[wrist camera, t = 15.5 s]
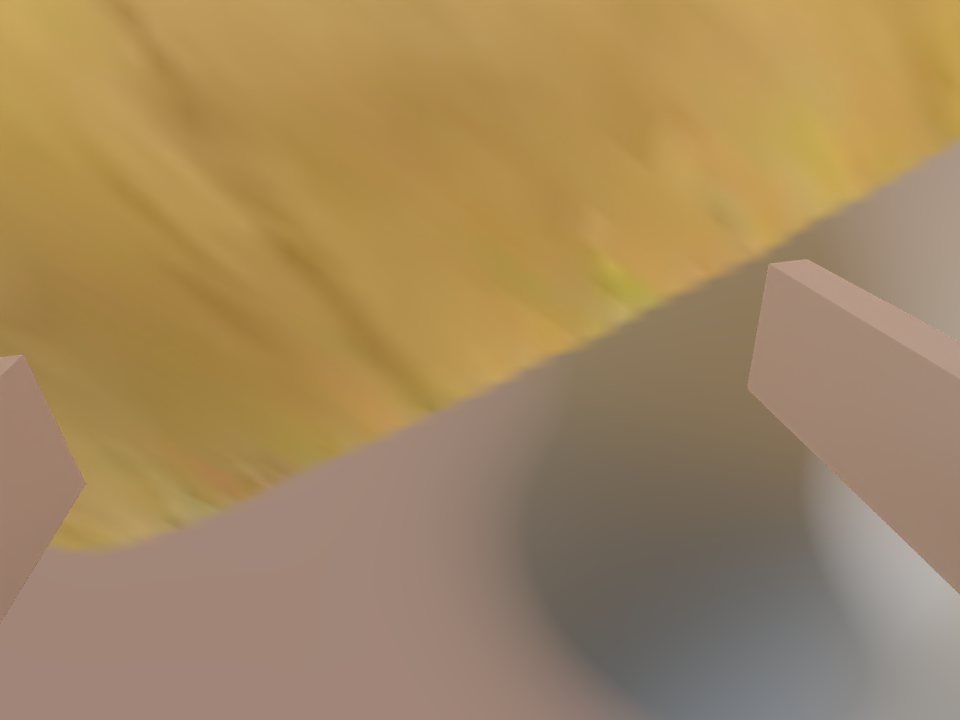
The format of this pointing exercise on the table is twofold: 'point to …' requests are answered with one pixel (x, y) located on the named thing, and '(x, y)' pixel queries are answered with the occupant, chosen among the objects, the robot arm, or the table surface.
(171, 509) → the table surface
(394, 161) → the table surface
